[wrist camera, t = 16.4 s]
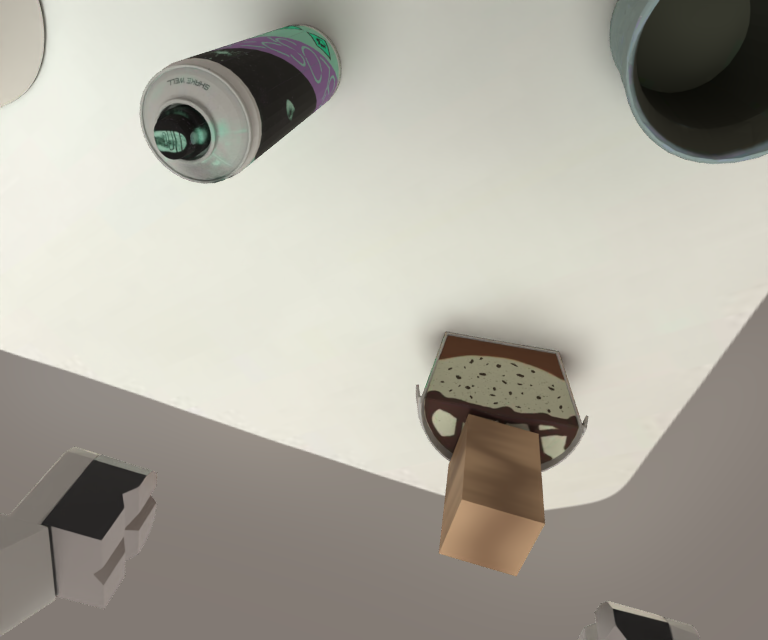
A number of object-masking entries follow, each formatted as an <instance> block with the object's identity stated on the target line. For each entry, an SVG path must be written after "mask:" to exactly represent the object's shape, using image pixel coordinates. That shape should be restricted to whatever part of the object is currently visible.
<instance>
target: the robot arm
mask: <svg viewBox="0 0 768 640" xmlns="http://www.w3.org/2000/svg"><path fill="white" fill-rule="evenodd" d="M43 51H44V25H43V17H42V12H41V7H40V3H39V0H0V107H3V106H5V105H7V104H9V103H11V102H13V101H15V100H16V99H18V98H19V97H21V96H22V95H23V94H24V93H25V92H26V91H27V90H28V89H29V87H30V86H31V85H32V83H33V82H34V80H35V78H36V76H37V74H38V71H39V68H40V66H41V62H42V57H43ZM156 486H157V473H156V472H154V471H151V470H148V469H145V468H142V467H139V466H136V465H132V464H129V463H126V462H123V461H120V460H117V459H113V458H110V457H107V456H104V455H100V454H97V453H94V452H91V451H87V450H84V449H80V448H78V447H73V448H71V449H70V450H68V451H66V452H65V453H64V454H63V455H62V456H61V457H60V458H59V459H58V461H57V462H56V463H55V464H54V465H53V466H52V467H51V468H50V470H49V471H48V472H47V473H46V474H45V475H44V476H43V477H42V478H41V480H40V481H39V482H38V483H37V484H36V485H35V486H34V488H33V489H32V490H31V491H30V492H29V493H28V494H27V495H26V496H25V498H24V499H23V500H22V501H21V502H20V503H19V504H18V505H17V506H16V508H15V509H14V510H13V511H12V512H11V513H10V514H9V515H6V514H2V513H0V636H1V635H3V634H5V633H6V632H8V631H9V630H11V629H12V628H14V627H15V626H17V625H18V624H20V623H21V622H23V621H24V620H26V619H27V618H29V617H30V616H31V615H33V614H35V613H36V612H38V611H39V610H41V609H42V608H44V607H45V606H47V605H48V604H50V603H51V602H53V601H54V600H55V599H56V597H60V598H63V599H67V600H71V601H75V602H79V603H83V604H86V605H90V606H94V607H98V608H101V609H105V607H106V606H107V604H108V602H109V601H110V599H111V598H112V596H113V594H114V593H115V591H116V590H117V588H118V586H119V585H120V583H121V582H122V580H123V578H124V577H125V561H127V560H128V559H130V558H132V557H134V556H136V555H138V554H139V552H140V550H141V549H142V547H143V545H144V544H145V542H146V540H147V538H148V535H149V533H150V531H151V528H152V526H153V523H154V518H155V514H156V501H155V500H154V499H153V497H152V496H151V494H152V492H153V491H154V489H155V487H156ZM55 596H56V597H55ZM595 619H596V623H594V624H591V625H589V626H586V627H584V629H583V631H582V632H581V634H580V636H579V637H578V640H700V637H699V634H698V632H697V630H696V629H695V628H694V626H692V625H689V624H685V623H682V622H679V621H675V620H672V619H668V618H665V617H661V616H660V615H657V614H653V613H649V612H646V611H642V610H638V609H635V608H631V607H627V606H624V605H620V604H616V603H613V602H609V601H605V602H603V603H601V604H600V605H599V607H598V608H597V610H596V611H595Z"/></svg>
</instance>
